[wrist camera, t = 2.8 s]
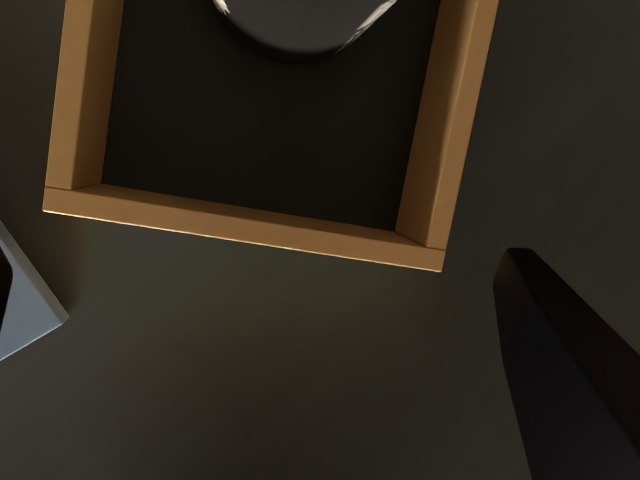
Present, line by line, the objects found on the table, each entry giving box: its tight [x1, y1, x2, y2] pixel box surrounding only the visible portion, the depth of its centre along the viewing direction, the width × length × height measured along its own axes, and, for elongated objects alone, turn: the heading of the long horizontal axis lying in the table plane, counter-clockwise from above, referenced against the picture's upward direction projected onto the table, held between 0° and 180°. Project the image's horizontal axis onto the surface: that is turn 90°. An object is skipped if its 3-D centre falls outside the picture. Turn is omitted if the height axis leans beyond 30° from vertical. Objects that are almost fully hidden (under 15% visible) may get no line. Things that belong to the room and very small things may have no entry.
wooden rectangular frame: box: [42, 0, 499, 272], centre depth 19 cm, size 17×14×4 cm
